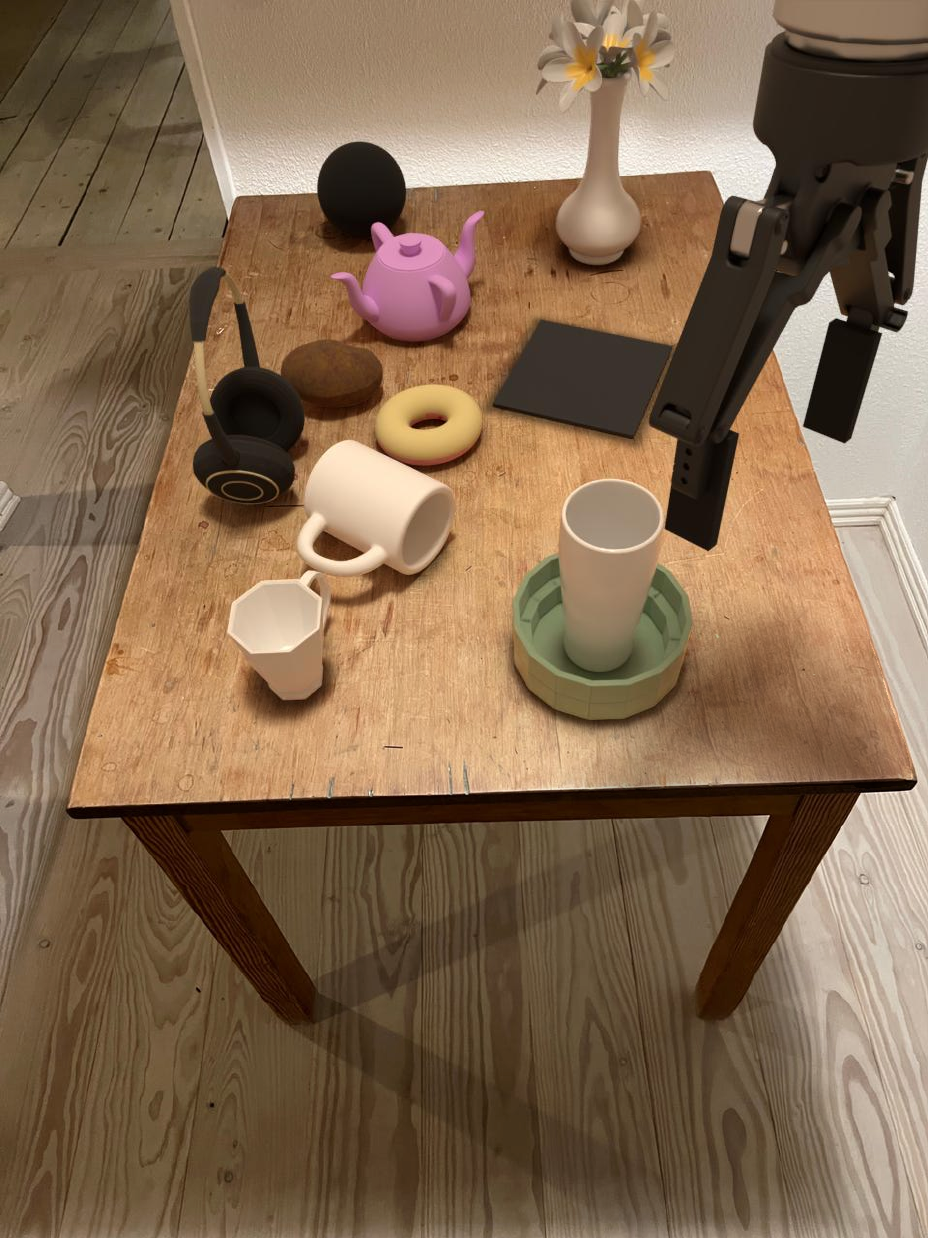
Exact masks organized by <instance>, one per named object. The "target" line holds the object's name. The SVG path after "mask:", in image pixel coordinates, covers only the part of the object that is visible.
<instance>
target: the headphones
mask: <svg viewBox="0 0 928 1238" xmlns="http://www.w3.org/2000/svg"><path fill="white" fill-rule="evenodd" d="M221 279H223V280H224V281H225V282H226V284H227V285H228V288H229V290H230V292H231V293H232V296H233V300H234V302H233V307H234V311H235V315H236V319H237V320H236V321H237V325H238V333H239V338H240V339H239V340H240V348H241V355H242V362H243V363H242V364H243V366H242V367H240V368H237V369H235V370H231V371H230V372H228V373H227V374H225V375H224V376H223V377H222V378H221V379H220V380H219V381H218V382H217V384H216V385H215V387H214V388H213V389H212V391H211V394H210V395H209V390H208V383H207V375H206V366H205V365H206V364H205V342H206V341H207V333H208V328H209V322H210V316H211V314H212V310H213V305H214V303H215V300H216V298H217V295H218V293H219V290H220V286H221ZM188 302H189V304H188V305H189V307H188V308H189V326H190V334H191V335H190V336H191V342H193V346H194V347H193V348H194V349H193V350H194V367H195V376H196V377H195V378H196V383H197V391H198V395H199V396H198V397H199V401H200V404H201V408H202V417H203V420H204V422H205V425H206V427H207V430H208V434H209V435H210V437H211V438H209V439H208V440H206V441H205V442H203V443H201V444H200V445H199V446H198V448H197V449H196V451H195V452H194V454H193V457H192V458H193V459H192V471H193V474H194V476H195V478H196V479H197V480H198V482H199V483H200V484H201V485H202V486H203V487H204V488H205V489H206V490H207V491H208V492H209V493H210V494H212V495H213V496H214V497H216V498H219V499H221V500H223V501H226V502H229V503H235V504H240V505H261V504H266V503H269V502H272V501H274V500H275V499H277V498H278V497H281V496H282V495H283V494H284V493H286V492H287V491H288V490H289V489H290V488H291V487H292V485H293V484H294V481H295V475H296V467H295V462H294V460H293V459H292V456H291V455H290V454H289V453H288V452H290V450H292V449H293V448H294V447H295V446H296V444H297V443H298V442H299V440H300V438H301V437H302V433H303V431H304V429H305V422H306V415H305V408H304V404H303V400H301V398H300V396H299V394H298V392H297V391H296V389H295V388H294V387H293V385H292V384H291V383H290V382H289V381H288V380H286V379H285V378H284V377H282V376H281V374H279V373H278V372H275V371H274V370H271V369H268V368H265V367H261V365H260V361H259V360H260V359H259V355H258V350H257V349H258V348H257V345H256V339H255V336H254V332H253V328H252V327H253V326H252V323H251V319H250V315H249V311H248V308H247V304H246V301H245V300H244V299H243V296H242V293H241V290H240V288H239V286H238V284H237V283H236V281H235V279H234V278H233V277H232V276H231V274H230V273H228V272H227V270H226V269H225V268H222V267H219V266H211V267H209V268H207V269H206V270H203V271H202V272H201V273H200V274H199V275H198V276H197V277H196V279H195V280H194V281H193V283H192V285H191V287H190V291H189V300H188Z"/></svg>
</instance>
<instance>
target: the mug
mask: <svg viewBox="0 0 928 1238" xmlns="http://www.w3.org/2000/svg"><path fill="white" fill-rule="evenodd" d="M456 501H457V500H456V497H455V493H454V491H453V489H452V487H450V486H448V485H447V484H445V483H443V482H442V481H439V480H437V479H436V478H433V477H431V476H429V475H426V474H425V473H422V472H421V471H419V470H416V469H414V468H412V467H410V466H409V465H406V464H405V463H403V462H401V461H398V460H396V459H394V458H393V457H391V456H389V455H388V456H387V455H385V454H384V453H381V452H380V451H377V450H375V449H373V448H371V447H369V446H367V445H365V444H363V443H362V442H359V441H357V440H353V439H345V440H341V441H339V442H337V443H335V444H333V445H332V446H330V447H329V448H328V449H327V450H326V451H325V452H324V453H323V454H322V456H320V458H319V459H318V460H317V462H316V463H315V464H314V466H313V468H312V470H311V472H310V474H309V477H308V478H307V483H306V485H305V488H304V495H303V510H304V512H305V516H306V518H307V520H306V521H305V523H304V524H303V526H302V527H301V529H300V531H299V533H298V536H297V539H296V549H297V554H298V556H299V557H300V558H301V560H302V561H303V562H304V563H305V564H306V565H307V566H309V567H310V568H311V569H314V571H317V572H320V573H323V574H324V575H328V576H331V577H332V576H333V577H339V578H352V577H353V578H354V577H359V576H363V575H365V574H368V573H370V572H372V571H375V570H376V569H377V568H379V567H381V566H382V565H383V564H384V565H386V566H388V567H389V568H391V569H393V570H395V571H397V572H399V573H401V574H403V575H407V576H410V575H415V574H418V573H420V572H421V571H422V570H424V569H425V568H427V567H429V565H430V564H431V563H432V562H433V560H434V559H436V557H437V555H438V554H439V553H440V552H441V550H442V549H443V547H444V545H445V544H446V542H447V540H448V538H449V535H450V533H451V531H452V527H453V524H454V520H455V516H456V510H457V508H456V507H457V502H456ZM322 532H326V533H327V534H329V535H330V536H333V537H334V538H337V539H338V540H339V541H341V542H344V543H345V544H347V545H349V546H351V547H353V548H355V549H357V550H358V551H359V552H362V553H363V554H361V555H359V556H358V557H355V558H352V559H348V560H332V559H330V558H326V557H323V556H321V555H320V554H318V553H316V551H314V548H313V547H314V543H315V542H316V540H317V538H318V537H319V536H320V534H321V533H322Z"/></svg>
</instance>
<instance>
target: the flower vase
mask: <svg viewBox="0 0 928 1238" xmlns="http://www.w3.org/2000/svg"><path fill="white" fill-rule="evenodd" d="M615 1H616V0H598V2H597V3H596V7H594V4H593V2H592V0H571V1H570V12H571V15H572V18H573V19H574V21H575V22H573V20H571V19H567V20H565V14H564V11H562V12H561V16H560V13H559V10H558V8H557V7H556V8H555V9H554V10H553V15H552V20H551V32H549V34H548V38H549V39H550V40H552V41H553V43H555V45H553V44H552V45H548V46H547V47H545V48H544V49H543V50H542V52H541V53H540V55H539V57H538V60H537V64H536V66H537V67H536V68H537V70H539V71H541V78H540V81H539V83H538V85H537V88H536V92H535V95H536V96H537V95H539V93H540V92H541V91H542V90H543V88H544V87H545V86H546V85H547V83H552V84H557V83H566V84H565V85H564V86H563V88H562V90H561V92H560V94H559V100H558V109H559V112H560V113H563V114H565V113H566V112H568V111H569V109H571V108H572V106H573V104H574V103H575V101H576V99H577V97H578V96H579V94H580V93H581V91H582V90H583V89H585V90H586V91H587V92H589V100H590V126H589V136H588V147H587V157H586V162H585V168H584V171H583V175H582V178H581V180H580V182H579V184H578V186H577V188H576V189H574V190H573V191H572V193H570V194H569V195H568V196H567V197H566V199H565V200H564V201H563V202H562V203H561V204H560V207H559V209H558V211H557V214H556V216H555V217H556V218H555V232H556V234H557V236H558V237H559V239H560V241H561V242H562V244H564V245H565V246H566V248H568V252H569V254H570V256H571V257H572V258H573V259H574V260H575V261H578V262H580V263H582V264H585V265H590V266H605V265H608V264H611V263H615V261H617V260H619V259H620V258H621V257H622V256H623V254H624V251H625V249H627V248H629V247H630V246H631V245H632V244H633V242H635V240H637V237H638V236H639V234H640V231H641V228H642V218H641V212H640V208H639V206H638V205H637V203H636V201H635V200H634V198H633V197H632V195H631V194H629V193H628V192H627V191H626V190H625V187H624V185H623V182H622V180H621V176H620V169H619V168H620V167H619V150H620V149H619V148H620V129H621V128H620V127H621V126H620V125H621V117H622V116H621V115H622V109H623V103H624V99H625V95H626V90H627V88H628V85H629V83H630V81H631V79H632V77H633V71H632V69H633V70H634V72H635V75H636V78H637V82H638V88H639V91H640V94H641V95H642V97H643V98H646V97H647V96H648V95H649V92H650V87H651V88H652V89H653V91H655V92H656V94H657V95H658V96H659V97H660V98H661V99H662V100H663V101H669V99H670V87H669V84H668V81H667V79H666V77H665V76H664V74H663V73H662V72H661V71H659V70H657V69H660V68H663V67H664V68H667V69H668V68H670V67H671V64H670V63H671V62H673V60H674V58H675V56H676V53H677V52H676V45H675V43H674V42H672V35H671V34H670V32H669V31H668V30H666V29H667V28H668V27H669V18H668V16H666V15H665V14H663V13H658V12H657V10H656V8H652V9H651V10H650V11H649V13H646V14H643V9H644V5H645V0H623V3H622V8H621V11H620V9H618V8H617V7H616V6H614V3H615ZM623 52H624V53H623ZM622 53H623V54H622ZM598 57H599V60H600V61H598ZM626 59H628V60H629V61H628V62H625V63H624V61H625V60H626Z"/></svg>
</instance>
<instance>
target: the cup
mask: <svg viewBox="0 0 928 1238" xmlns="http://www.w3.org/2000/svg"><path fill="white" fill-rule="evenodd" d="M315 579H316V581H317V584H318V586H319V593H320V594H318V593H316V592H315V591H314V590H312V589H311V585H312V583H313V581H314V580H315ZM331 592H332V591H331V586H330V583H329V580H328V579H327V577H326V574H325V573H322V572H320V571H317V570H307V571H305V572H304V573H303V574H302V576H300V578H291V579H269V580H267V579H266V580H260V581H258V582H257V583H256V584H255V585H253V586H252V587H250V588H249V589H248V590H247V591H246V592H244V593H242V594H241V595H240V596H238V597H237V598H236V599H235V600H233V601H231V607H230V613H229V619H228V625H227V631H226V633H227V635H228V636H229V637H230V639H231V640H232V642H233V643H234V644H235V646H236V647H237V648H238V650H239V651H240V652H241V653H242V655H243V657H244V658H245V659H246V661H247V662H248V663H249V665H250V666H251V667H252V669H253V670H255V672H256V673H257V674H258V675H260V677H261V678H262V679H263V680H264V681H266V682H267V685H268V688H269V689H270V690H271V691H272V692H273V693H274V694H275V695H277V697H279V698H280V699H281V700H282V701H295V700H297V701H298V700H306V699H308V698H309V697H310V696H311V695H313V693H315V692H316V691H317V690H319V688H321V687H322V686H323V675H324V665H323V654H324V646H325V645H324V644H325V635H324V630H325V627H326V624H327V621H328V619H327V618H328V616H329V612H330V606H331V600H332V595H331V594H332V593H331Z"/></svg>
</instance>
